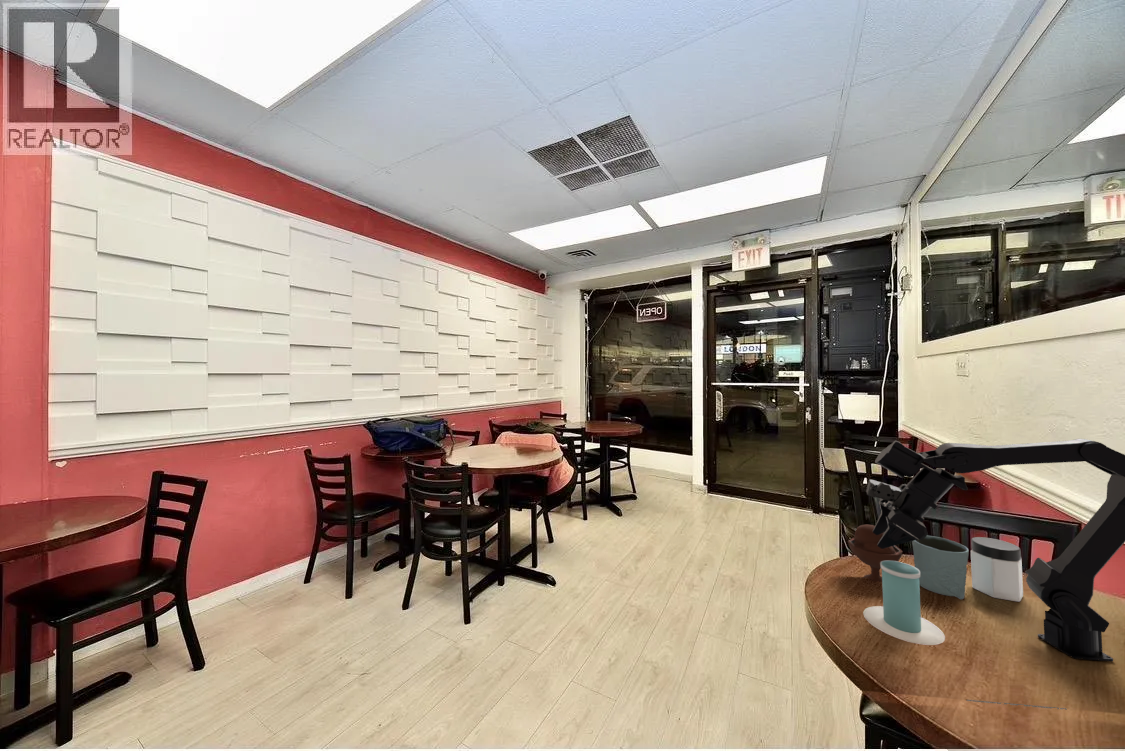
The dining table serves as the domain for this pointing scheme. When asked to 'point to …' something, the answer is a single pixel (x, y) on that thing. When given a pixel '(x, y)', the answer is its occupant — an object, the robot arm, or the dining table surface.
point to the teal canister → (901, 596)
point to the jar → (997, 568)
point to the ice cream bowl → (872, 550)
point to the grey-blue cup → (941, 565)
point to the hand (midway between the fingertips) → (876, 540)
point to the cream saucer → (926, 637)
